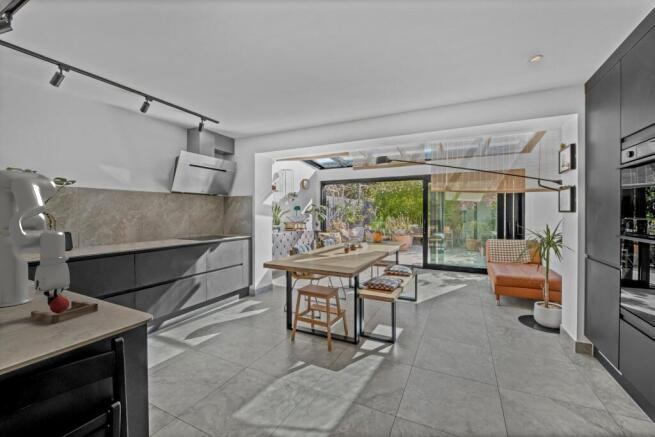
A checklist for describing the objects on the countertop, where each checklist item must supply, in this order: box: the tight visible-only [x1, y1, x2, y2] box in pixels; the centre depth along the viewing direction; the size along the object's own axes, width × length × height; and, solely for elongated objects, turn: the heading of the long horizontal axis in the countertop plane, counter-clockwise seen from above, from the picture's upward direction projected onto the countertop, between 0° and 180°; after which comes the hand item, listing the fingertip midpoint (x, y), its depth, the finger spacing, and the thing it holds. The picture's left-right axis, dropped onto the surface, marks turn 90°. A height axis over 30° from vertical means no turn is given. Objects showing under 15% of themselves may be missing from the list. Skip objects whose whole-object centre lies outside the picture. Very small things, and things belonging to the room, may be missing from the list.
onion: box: [49, 294, 70, 314], centre depth 117 cm, size 6×6×8 cm
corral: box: [30, 300, 99, 325], centre depth 116 cm, size 14×15×3 cm
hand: (53, 305), depth 118 cm, fingers closed
